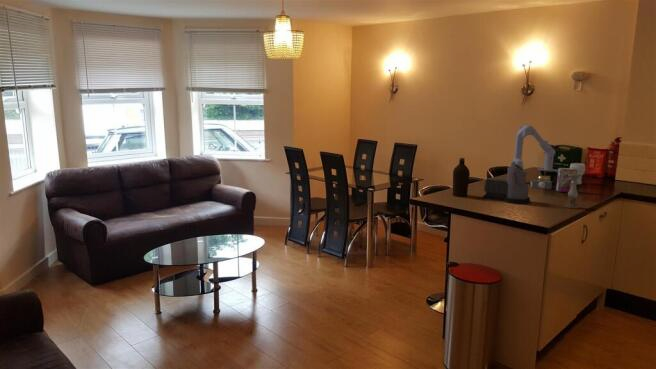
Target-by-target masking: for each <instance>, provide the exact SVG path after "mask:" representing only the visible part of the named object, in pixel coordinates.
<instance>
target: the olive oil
mask: <svg viewBox="0 0 656 369" xmlns="http://www.w3.org/2000/svg"><path fill="white" fill-rule="evenodd" d="M458 162H459V163H458V164H457V165H456V166H455V167H454V168H453V171H452V196H453V197H459V198H465V197H467V196H468V191H469V180H470V174H471V173H470V170H469V167H468V166H466V164H465V157H460V158H459V161H458Z"/></svg>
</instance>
